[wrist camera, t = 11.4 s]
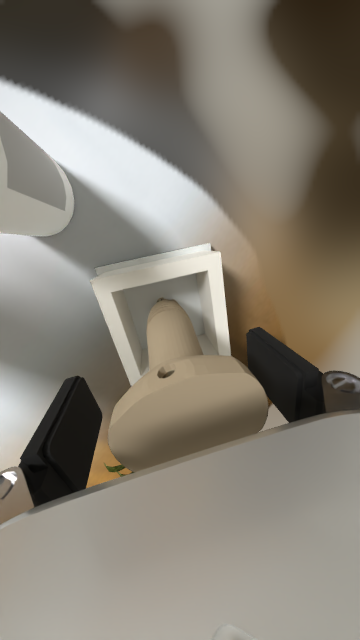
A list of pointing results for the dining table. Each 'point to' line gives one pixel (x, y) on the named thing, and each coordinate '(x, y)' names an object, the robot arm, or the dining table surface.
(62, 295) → the dining table surface
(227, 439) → the handle
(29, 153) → the spray bottle
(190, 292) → the box
